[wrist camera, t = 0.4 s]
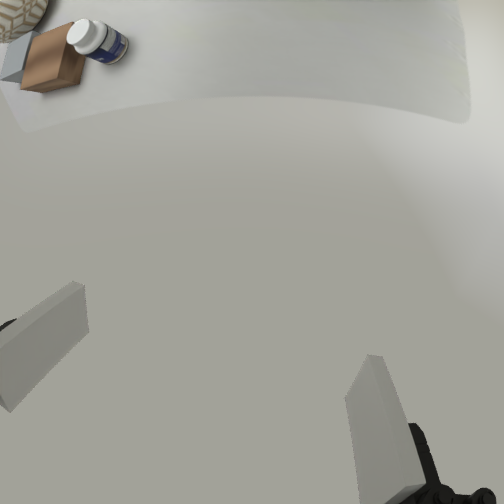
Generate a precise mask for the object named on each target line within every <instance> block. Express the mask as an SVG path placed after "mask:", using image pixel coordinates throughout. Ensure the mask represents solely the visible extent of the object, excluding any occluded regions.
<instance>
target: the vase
mask: <svg viewBox="0 0 504 504" xmlns="http://www.w3.org/2000/svg"><path fill="white" fill-rule="evenodd" d="M47 5H48V0H0V43H9V42H12V41H14V40H16V39H18V38H20V37H21V36H23V35H25V34H27V33H28V32H30V31H31V30H32V29H33V28H34V27H35V26H36V25H37V24H38V23H39V21H40V20H41V18H42V17H43V15H44V13H45V11H46V9H47Z"/></svg>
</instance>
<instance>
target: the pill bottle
mask: <svg viewBox="0 0 504 504" xmlns="http://www.w3.org/2000/svg"><path fill="white" fill-rule="evenodd" d="M67 42H68V43H69V44H71V45H73V46H74V47H75V50H76V51H77V52H78V53H80V54H82V55H85V56H87V57H89V58H92V59H94V60H97V61H99V62H101V63H104V64H112V63H114V62H116V61H118V60H119V59H120V58H121V57H122V56H123V55H124V53H125V52H126V49H127V46H128V41H127V39H126V37H125V36H124V35H122V34H121V33H119V32H118V31H116V30H114V29H113V28H111V27H110V26H108V25H107V24H105V23H103V22H101V21H90V20H88V19H80V20H78V21H77V22H76V23H74V24H73V26H72V27H71V28H70V30H69V31H68V34H67Z"/></svg>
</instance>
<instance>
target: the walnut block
mask: <svg viewBox="0 0 504 504" xmlns="http://www.w3.org/2000/svg"><path fill="white" fill-rule="evenodd" d="M73 24H74V22H70V23H68V24H65V25H62V26H60V27H57V28H55V29H52V30H50V31H48V32H45V33H43V34H41V35H38V36H36V37H34V38H33V41H32V44H31V48H30V51H29V55H28V58H27V62H26V66H25V70H24V74H23V79H22V84H21V88H20V90H27V91H34V92H40V93H43V92H47V91H51V90H55V89H59V88H64V87H68V86H73V85H78V84H80V80H81V75H82V70H83V66H84V61H85V57H86V56H85V55H82V54H80V53H78V52H77V51H76V50H75V47H74V46H73V45H71V44H69V43H68V42H67V34H68V31H69V30H70V28H71V27H72V26H73Z"/></svg>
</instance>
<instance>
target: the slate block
mask: <svg viewBox="0 0 504 504" xmlns="http://www.w3.org/2000/svg"><path fill="white" fill-rule="evenodd" d="M38 35H41V33H38V32H36V31H31V32H29V33H27V34H25V35H23V36H21V37H20V38H18V39H16V40H14V41H12V42H11V43H9V46H8V49H7V52H6V56H5V60H4V63H3V67H2V71H1V76H0V80H2V81H9V82H16V83H21V82H22V79H23V74H24V70H25V66H26V62H27V58H28V55H29V51H30V48H31V44H32V41H33V38H34V37H36V36H38Z"/></svg>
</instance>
